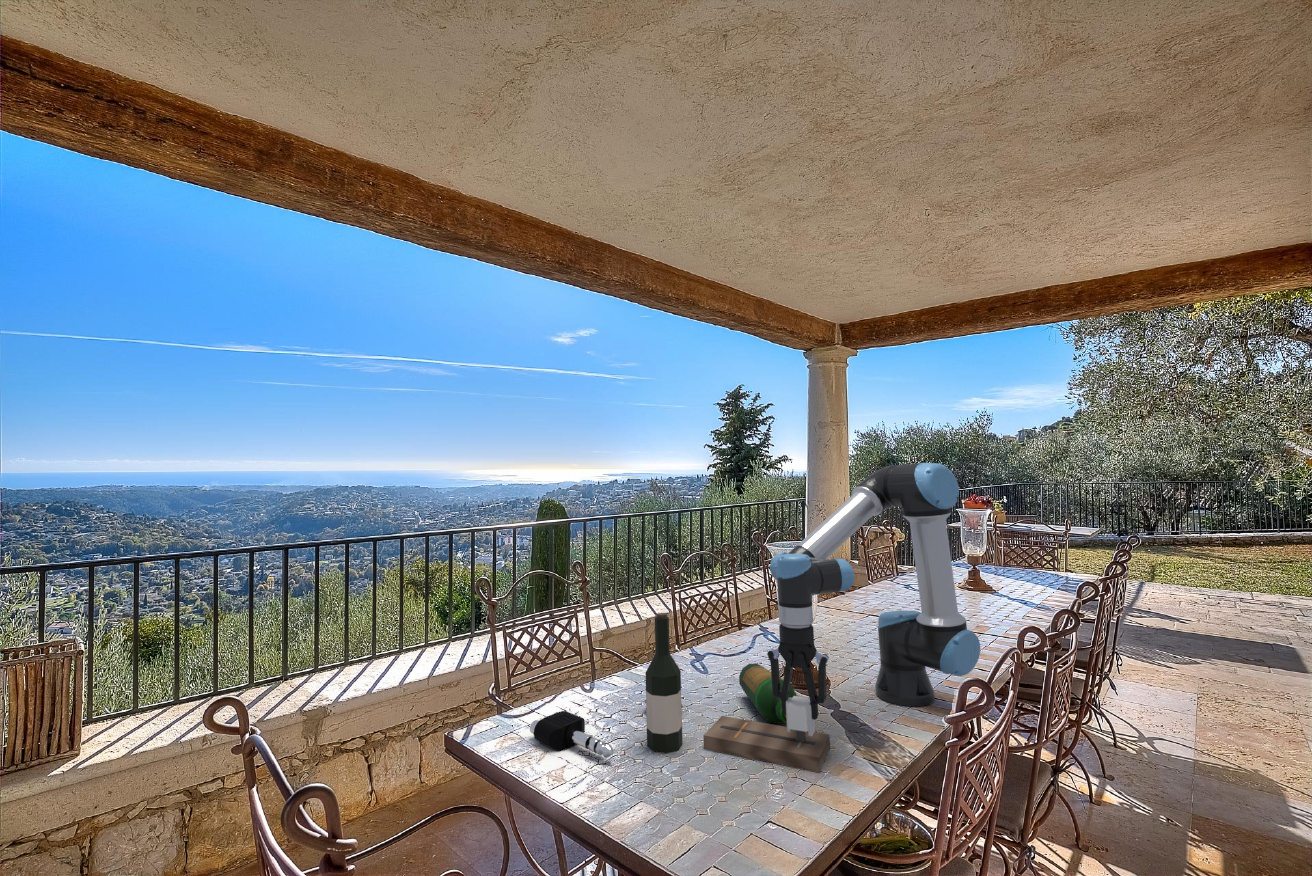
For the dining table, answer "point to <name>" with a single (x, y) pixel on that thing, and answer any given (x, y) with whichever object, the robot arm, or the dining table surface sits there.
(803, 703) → the fader knob
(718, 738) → the fader board
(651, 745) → the wine bottle
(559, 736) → the audio adapter
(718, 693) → the dining table surface
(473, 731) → the dining table surface
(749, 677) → the bottle
